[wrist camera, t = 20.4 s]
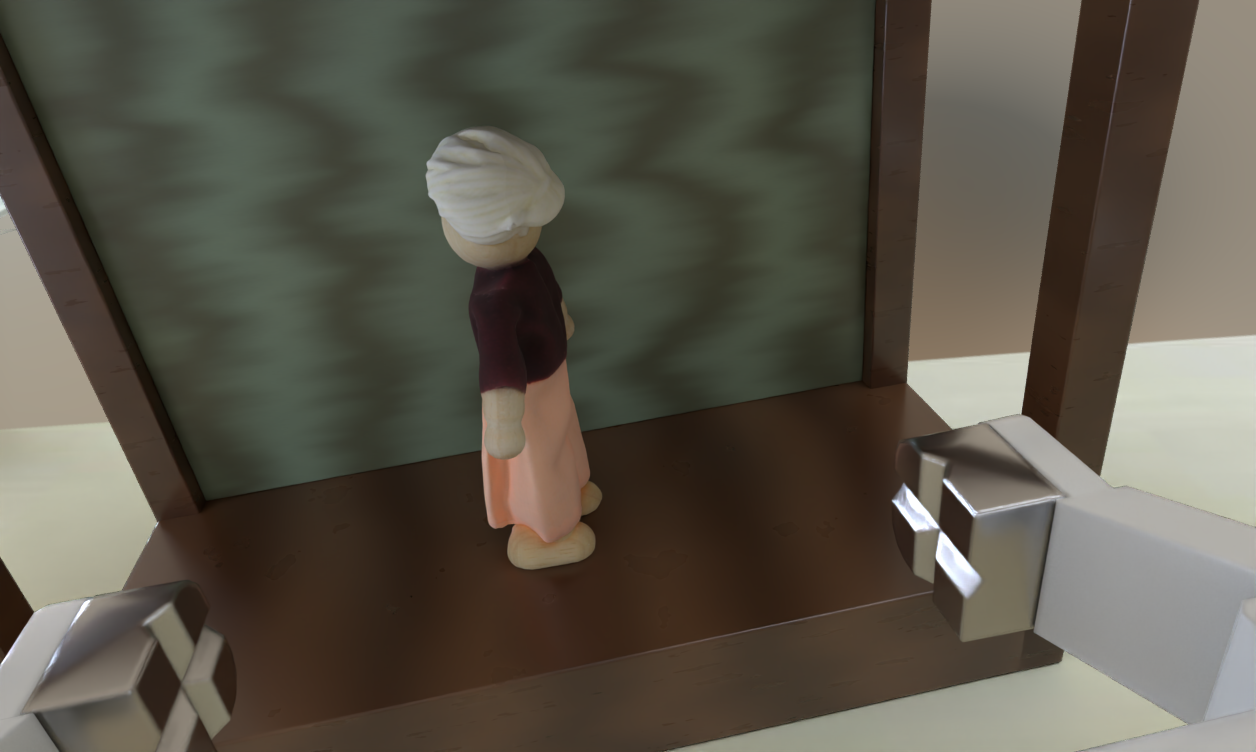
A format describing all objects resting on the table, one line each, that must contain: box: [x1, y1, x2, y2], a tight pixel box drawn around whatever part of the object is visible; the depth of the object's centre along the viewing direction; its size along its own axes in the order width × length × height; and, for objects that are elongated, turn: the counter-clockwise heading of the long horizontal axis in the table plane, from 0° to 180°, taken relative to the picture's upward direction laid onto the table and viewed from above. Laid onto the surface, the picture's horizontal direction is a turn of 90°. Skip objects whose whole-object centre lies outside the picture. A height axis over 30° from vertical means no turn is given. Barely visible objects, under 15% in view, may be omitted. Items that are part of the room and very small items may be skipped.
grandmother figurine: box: [426, 126, 602, 570], centre depth 23 cm, size 8×4×13 cm, turn 5°
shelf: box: [0, 0, 1199, 752], centre depth 23 cm, size 28×12×24 cm, turn 100°
